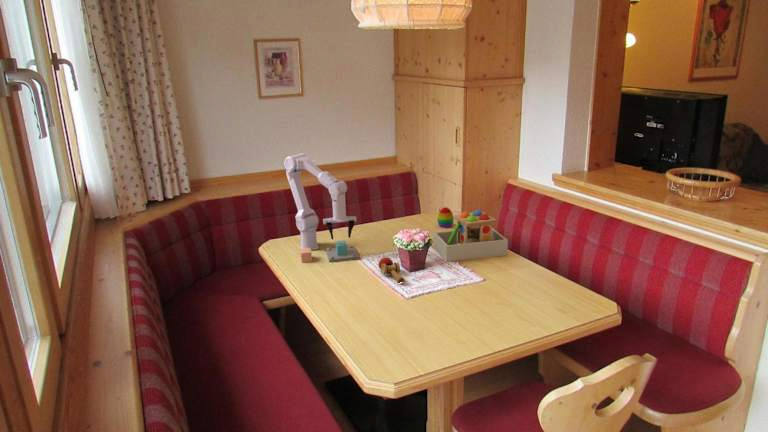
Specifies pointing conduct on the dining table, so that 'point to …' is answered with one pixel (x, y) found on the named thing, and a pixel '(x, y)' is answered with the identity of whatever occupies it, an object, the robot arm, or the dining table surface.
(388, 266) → the kendama
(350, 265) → the dining table surface
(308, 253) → the terracotta brick
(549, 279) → the dining table surface
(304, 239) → the robot arm
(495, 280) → the dining table surface
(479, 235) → the pounding bench toy
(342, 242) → the teal brick
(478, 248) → the toy tray
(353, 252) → the baseplate
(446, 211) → the decorative egg
